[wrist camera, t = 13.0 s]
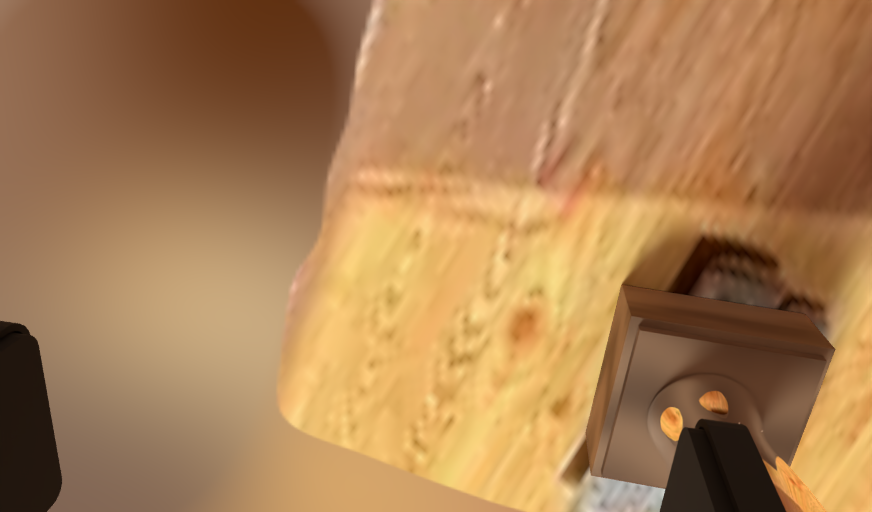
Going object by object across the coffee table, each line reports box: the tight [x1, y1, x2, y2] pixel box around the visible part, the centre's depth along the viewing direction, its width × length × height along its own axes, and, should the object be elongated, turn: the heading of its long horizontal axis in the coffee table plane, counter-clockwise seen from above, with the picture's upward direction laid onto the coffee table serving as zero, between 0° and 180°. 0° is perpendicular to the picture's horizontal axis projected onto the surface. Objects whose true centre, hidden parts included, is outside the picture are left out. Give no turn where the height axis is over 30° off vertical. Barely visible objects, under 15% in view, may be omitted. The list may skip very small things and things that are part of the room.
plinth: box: [586, 285, 835, 489], centre depth 42 cm, size 11×11×5 cm
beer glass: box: [647, 374, 827, 512], centre depth 32 cm, size 7×7×15 cm
